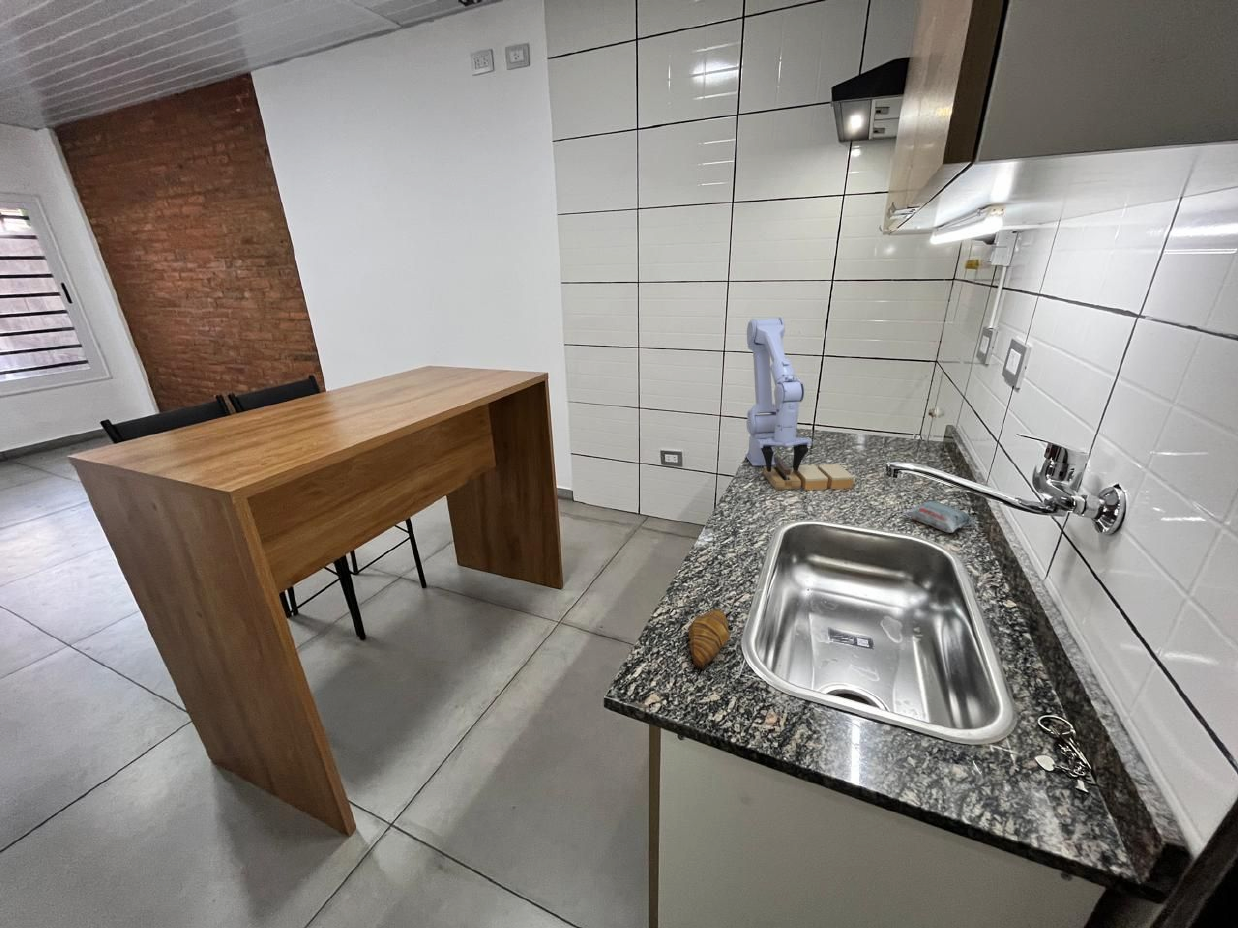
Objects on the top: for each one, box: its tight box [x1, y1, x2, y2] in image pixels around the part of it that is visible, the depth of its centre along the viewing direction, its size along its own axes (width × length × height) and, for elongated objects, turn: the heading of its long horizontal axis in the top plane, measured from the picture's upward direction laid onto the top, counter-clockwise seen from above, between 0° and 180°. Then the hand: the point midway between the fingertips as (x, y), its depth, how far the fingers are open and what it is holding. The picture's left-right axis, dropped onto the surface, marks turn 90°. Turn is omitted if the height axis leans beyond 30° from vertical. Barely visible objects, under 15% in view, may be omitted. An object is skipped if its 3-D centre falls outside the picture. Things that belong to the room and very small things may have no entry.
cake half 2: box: [817, 463, 855, 490], centre depth 137 cm, size 10×6×4 cm, turn 1°
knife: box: [774, 456, 792, 480], centre depth 139 cm, size 10×2×6 cm, turn 1°
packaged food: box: [902, 500, 976, 534], centre depth 112 cm, size 9×12×5 cm
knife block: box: [762, 465, 802, 491], centre depth 140 cm, size 12×7×2 cm, turn 1°
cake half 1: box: [792, 464, 828, 491], centre depth 138 cm, size 10×6×4 cm, turn 1°
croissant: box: [688, 609, 731, 670], centre depth 79 cm, size 14×7×5 cm, turn 155°
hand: (781, 470), depth 139 cm, fingers open, 7 cm apart
